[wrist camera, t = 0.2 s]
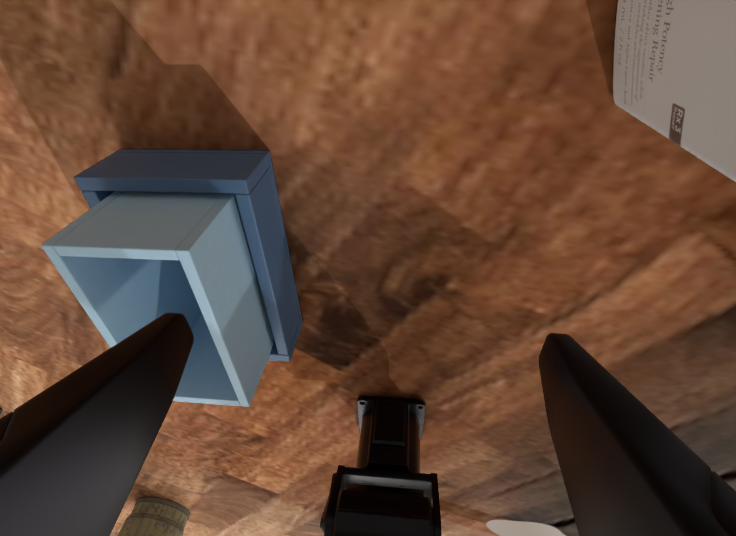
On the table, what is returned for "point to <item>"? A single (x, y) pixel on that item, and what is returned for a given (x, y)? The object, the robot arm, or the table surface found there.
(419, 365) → the table surface
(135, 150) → the lower bin
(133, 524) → the thermos
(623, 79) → the cosmetic box
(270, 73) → the table surface
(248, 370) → the top bin
